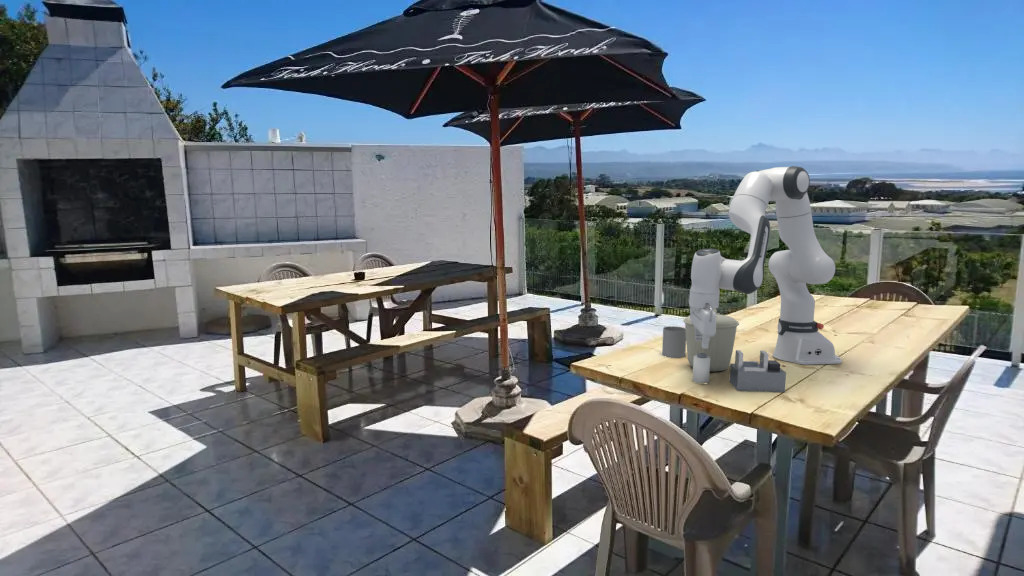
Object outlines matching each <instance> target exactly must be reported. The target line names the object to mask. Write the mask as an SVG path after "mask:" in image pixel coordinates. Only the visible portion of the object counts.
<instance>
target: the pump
mask: <svg viewBox="0 0 1024 576" xmlns="http://www.w3.org/2000/svg"><path fill="white" fill-rule="evenodd" d="M692 382H693V383H695V382H696V383H695V384H699V383H707V384H709V383H710V357H709V356H707V354H706V353H697V355H695V356H694V361H693V367H692Z"/></svg>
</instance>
